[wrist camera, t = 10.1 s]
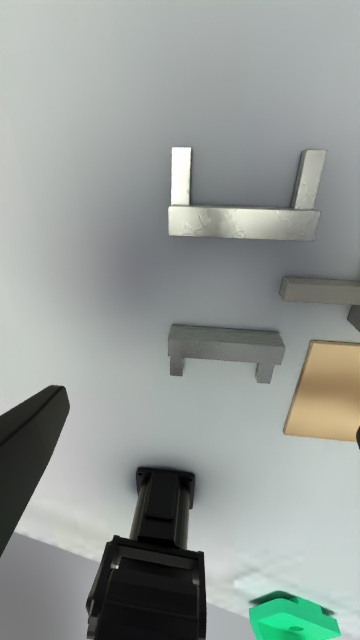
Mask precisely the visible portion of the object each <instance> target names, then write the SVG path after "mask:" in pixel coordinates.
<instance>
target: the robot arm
mask: <svg viewBox="0 0 360 640" xmlns="http://www.w3.org/2000/svg"><path fill="white" fill-rule="evenodd" d="M69 409H70V404H69V400H68V396H67V392H66V388H65V387H64V386H59V385H50V386H48V387H47V388H45V389H43V390H42V391H40V392H38V393H37V394H35V395H33V396H32V397H30V398H29V399H27V400H25V401H24V402H22V403H20V404H19V405H17V406H15V407H14V408H12V409H11V410H9V411H7V412H6V413H4V414H2V415H1V416H0V557H1V555H2V553H3V551H4V549H5V547H6V545H7V543H8V541H9V539H10V537H11V535H12V533H13V532H14V530H15V528H16V526H17V524H18V522H19V520H20V518H21V516H22V514H23V512H24V510H25V508H26V506H27V504H28V502H29V500H30V498H31V496H32V494H33V492H34V490H35V488H36V487H37V485H38V483H39V481H40V479H41V477H42V475H43V473H44V471H45V469H46V467H47V465H48V463H49V461H50V458H51V456H52V454H53V451H54V449H55V446H56V444H57V441H58V439H59V436H60V433H61V431H62V428H63V426H64V423H65V421H66V418H67V416H68V413H69ZM356 440H357V443H358V446H359V449H360V426H359V428H358V430H357V432H356ZM136 480H137V491H138V501H137V505H136V510H135V514H134V519H133V523H132V528H131V532H130V537H129V539H127V538H122V537H120V536H118V535H114V537H113V540H112V541H110V542H107V543H106V547H105V550H104V554H103V557H102V560H101V564H100V567H99V569H98V572H97V575H96V577H95V580H94V583H93V585H92V588H91V591H90V593H89V596H88V599H87V603H86V609H87V612H88V615H89V618H88V624H89V626H88V631H87V639H92V640H205V639H206V613H207V612H206V588H205V567H204V552H202V551H198V552H195V551H190V550H187V538H188V521H189V510H190V509H192V508H193V496H194V485H195V475H194V474H191V473H182V472H173V471H164V470H155V469H147V468H138V469H137V471H136ZM116 565H118V566H119V567H118V569H116Z"/></svg>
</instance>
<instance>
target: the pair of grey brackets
mask: <svg viewBox="0 0 360 640" xmlns="http://www.w3.org/2000/svg"><path fill="white" fill-rule="evenodd" d="M326 154H327V150H305V151H302V155H301V160H300V164H299V169H298V174H297V179H296V184H295V189H294V193H293V198H292V203H291V208H284V207H254V206H224V205H194V204H189V203H190V177H191V148H172V205H170V206H169V235H180V236H203V237H227V238H250V239H273V240H297V241H313V240H314V236H315V232H316V228H317V225H318V221H319V217H320V213H321V212H320V211H316V210H313V206H314V202H315V198H316V194H317V190H318V186H319V182H320V178H321V174H322V170H323V166H324V162H325V158H326ZM284 351H285V345H284V343H283V341H282V339H281V336H280V334H279V332H269V331H254V330H240V329H225V328H211V327H196V326H182V325H172V326H171V330H170V334H169V338H168V356H170V375H172V376H182V375H183V363H184V357H186V358H199V359H211V360H224V361H237V362H250V363H258V367H257V371H256V380H257V383H268V384H270V381H271V377H272V373H273V369H274V365H281V363H282V359H283V355H284Z"/></svg>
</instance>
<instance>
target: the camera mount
mask: <svg viewBox="0 0 360 640" xmlns="http://www.w3.org/2000/svg"><path fill="white" fill-rule="evenodd" d="M249 615H250V623H251V626H252V628H253V631H254V634H255V636H256V639H257V640H326V639H331V638H335V637H339V636H341V634H340V630H339V627H338V623H337V620H336V619H334V618H332V617H329V616H327V615H324V614H322V610H321V607H320V605H318V604H315V603H313V602H310V601H308V600H305V599H303V598H300V597H298V596H297V597H294V598H291V599H289V600H286V599H283V598H277V599H274V600H271V601H269V602H266V603H263V604H261V605H258V606H255V607H253V608H250V609H249Z"/></svg>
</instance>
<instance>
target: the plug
mask: <svg viewBox="0 0 360 640" xmlns="http://www.w3.org/2000/svg"><path fill="white" fill-rule="evenodd" d="M280 296H281V297H282V299H283V300H284V301H295V302H312V303H330V304H347V305H352V308H351V311H350V313H349V316H348V319H347V320H348V321H349V322H350V323H351V324H352V325H353V326H354V327H355V328H356V329H357V330H358V331H359V332H360V281H348V280H328V279H308V278H288V277H283V280H282V284H281V289H280Z"/></svg>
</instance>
